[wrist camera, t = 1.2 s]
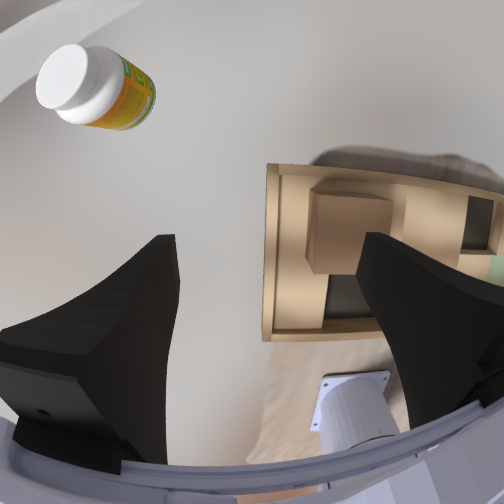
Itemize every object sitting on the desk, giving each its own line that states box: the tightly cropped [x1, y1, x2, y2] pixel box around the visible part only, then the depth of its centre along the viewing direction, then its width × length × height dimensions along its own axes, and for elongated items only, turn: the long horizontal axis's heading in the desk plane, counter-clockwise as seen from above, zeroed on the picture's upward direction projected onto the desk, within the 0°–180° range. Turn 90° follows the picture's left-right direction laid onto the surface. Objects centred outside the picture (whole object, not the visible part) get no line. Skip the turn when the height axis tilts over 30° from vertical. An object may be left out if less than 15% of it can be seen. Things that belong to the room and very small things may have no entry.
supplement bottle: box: [36, 44, 156, 131], centre depth 15 cm, size 5×5×10 cm
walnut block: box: [305, 190, 394, 275], centre depth 19 cm, size 5×5×4 cm
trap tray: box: [262, 163, 504, 342], centre depth 22 cm, size 14×28×3 cm, turn 89°
